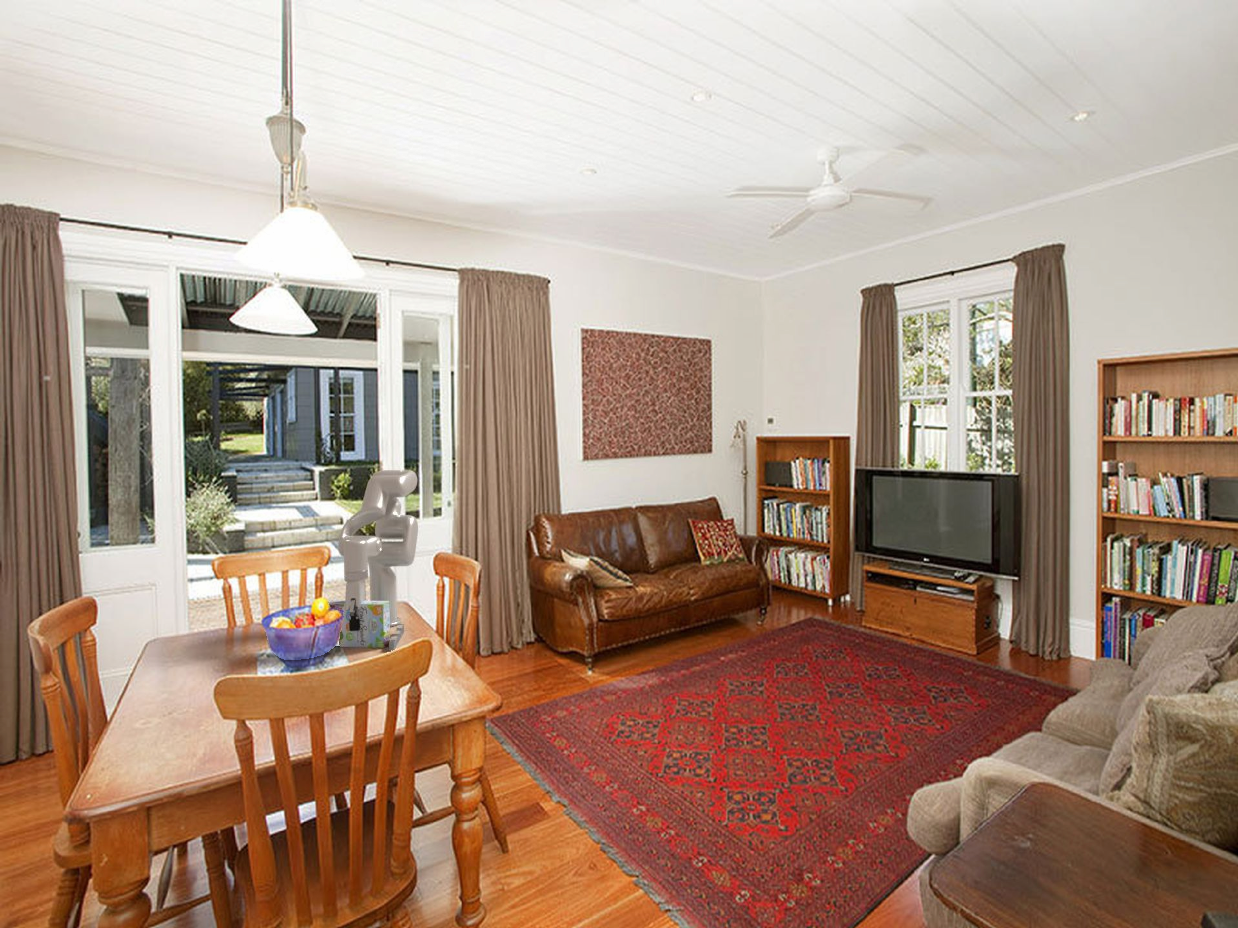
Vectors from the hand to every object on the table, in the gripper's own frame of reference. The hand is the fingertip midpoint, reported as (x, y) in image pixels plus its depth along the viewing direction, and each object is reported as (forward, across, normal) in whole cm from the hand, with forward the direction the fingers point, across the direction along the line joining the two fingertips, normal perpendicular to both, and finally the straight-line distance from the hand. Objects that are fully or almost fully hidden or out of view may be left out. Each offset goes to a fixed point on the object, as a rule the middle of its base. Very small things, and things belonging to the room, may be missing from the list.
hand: (357, 627), depth 216 cm
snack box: (+6, 0, 0) cm, 6 cm away
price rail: (+6, -2, +12) cm, 14 cm away
